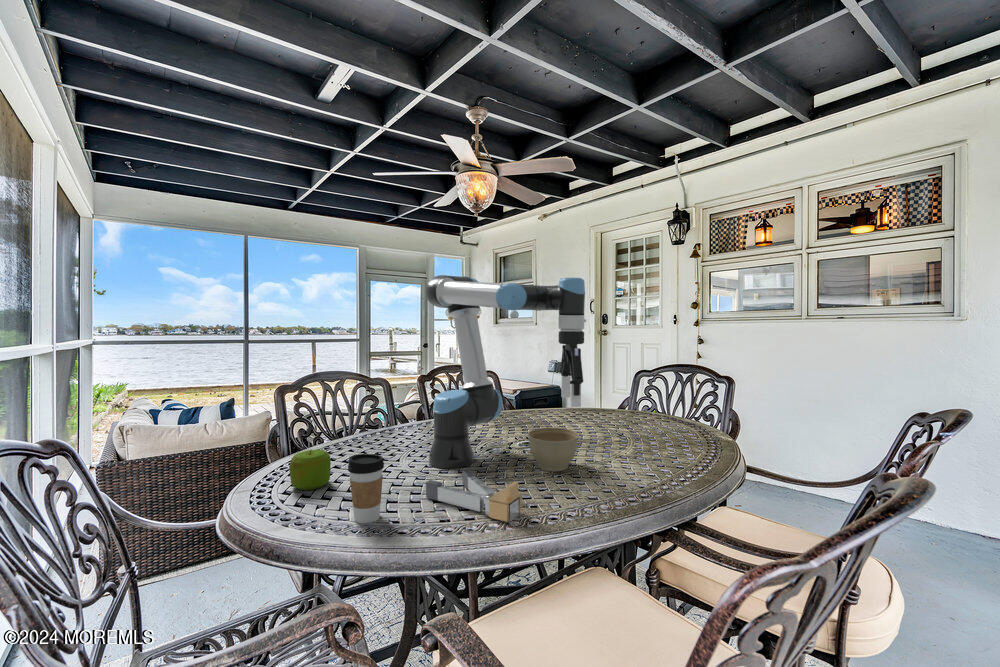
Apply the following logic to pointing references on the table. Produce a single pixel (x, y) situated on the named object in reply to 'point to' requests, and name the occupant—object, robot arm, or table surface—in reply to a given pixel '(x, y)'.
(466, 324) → the robot arm
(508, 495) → the collar
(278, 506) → the table surface
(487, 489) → the bar
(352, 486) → the coffee cup
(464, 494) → the tongs fixed
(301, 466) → the apple
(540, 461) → the planter bowl
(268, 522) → the table surface
